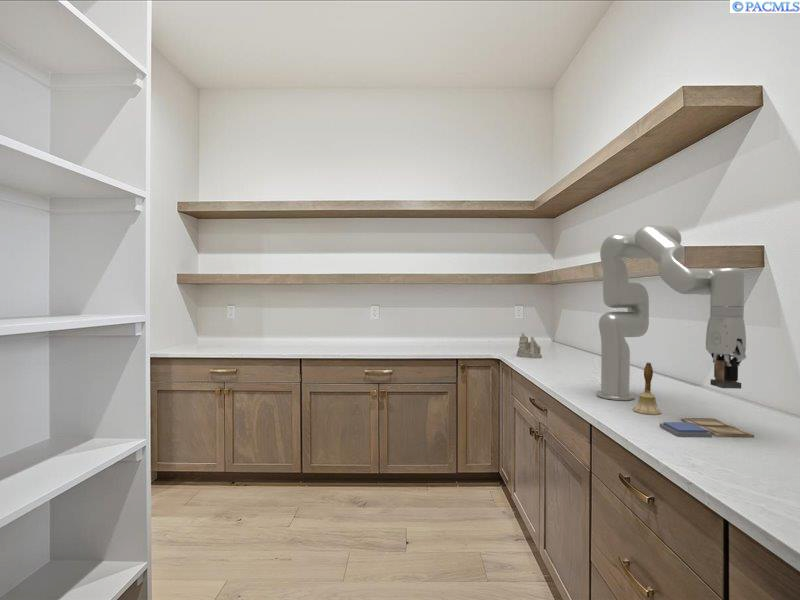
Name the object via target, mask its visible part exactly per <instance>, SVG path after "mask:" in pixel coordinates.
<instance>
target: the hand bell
mask: <svg viewBox="0 0 800 600" xmlns="http://www.w3.org/2000/svg"><path fill="white" fill-rule="evenodd" d="M653 370H654V369H653V367H652V363H651V362H646V364H645V367H644V369H643V378H644V381H645V383H644V392H643V393H640V394H639V397H638V402H637V404H636V405H635V406H634V407H633V408H632V411H633V412H635V413H638V414H643V415H651V416H652V415H653V416H657V415H661V414H663V413H662V412H663V411H662V410H660V408H659V407H658V404H657V401H656V396H655V395H654V394H653V393H652V391H651V390H652V389H651V385H652V380H653V375H654V371H653Z"/></svg>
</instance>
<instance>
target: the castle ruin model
mask: <svg viewBox="0 0 800 600" xmlns="http://www.w3.org/2000/svg"><path fill="white" fill-rule="evenodd" d="M518 343H519V344H518V346H519V347H518V350H517V352H516V357H518V358H524V359H525V358H526V359H542V358H543V354H542V353H541V349H542V348H541V346H540V345H539V344H538V343H537V342H536V340H535V339H534V336H530V341H529V338H528V336H526V335H525V334H524V332H522V333H521V336H519V341H518Z"/></svg>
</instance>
